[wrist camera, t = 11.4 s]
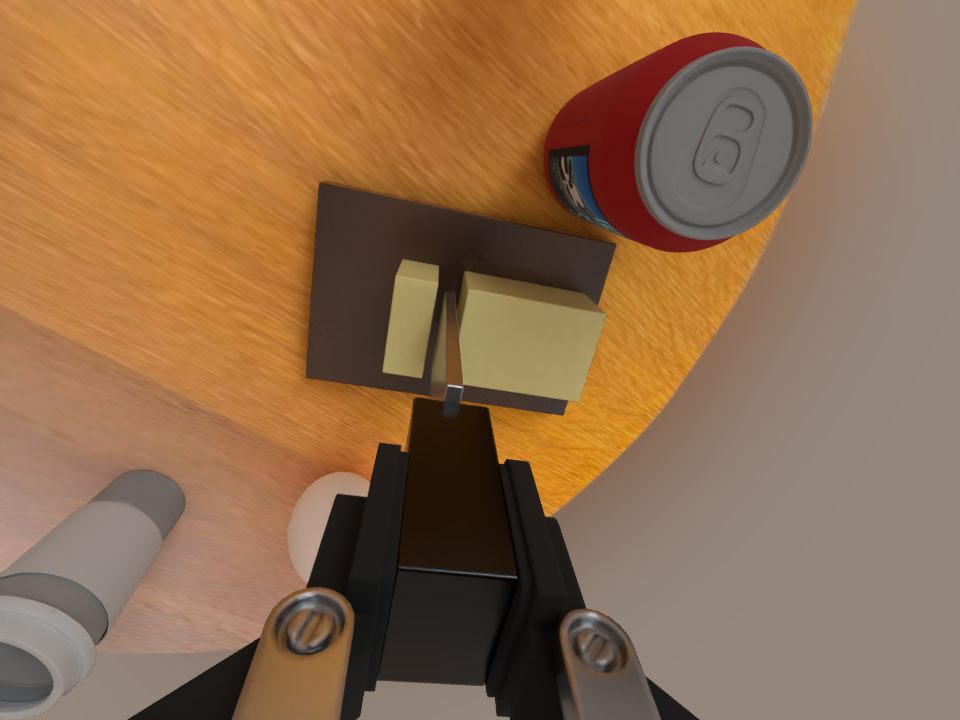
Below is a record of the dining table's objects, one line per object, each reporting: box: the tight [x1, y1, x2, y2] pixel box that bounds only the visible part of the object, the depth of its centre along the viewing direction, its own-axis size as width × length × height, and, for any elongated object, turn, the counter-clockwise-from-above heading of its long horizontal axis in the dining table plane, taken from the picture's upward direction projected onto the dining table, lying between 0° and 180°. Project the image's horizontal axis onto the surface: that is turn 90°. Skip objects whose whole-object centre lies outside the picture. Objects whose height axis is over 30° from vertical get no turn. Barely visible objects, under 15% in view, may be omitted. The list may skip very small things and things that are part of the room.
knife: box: [377, 292, 519, 686], centre depth 16 cm, size 2×4×16 cm, turn 168°
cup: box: [0, 470, 185, 720], centre depth 26 cm, size 7×7×12 cm
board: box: [306, 181, 616, 415], centre depth 27 cm, size 16×11×2 cm
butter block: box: [457, 271, 607, 402], centre depth 25 cm, size 7×5×4 cm
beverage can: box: [544, 32, 813, 253], centre depth 19 cm, size 7×7×12 cm
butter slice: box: [383, 259, 439, 378], centre depth 24 cm, size 2×5×4 cm, turn 168°
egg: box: [287, 472, 370, 583], centre depth 28 cm, size 6×6×8 cm
